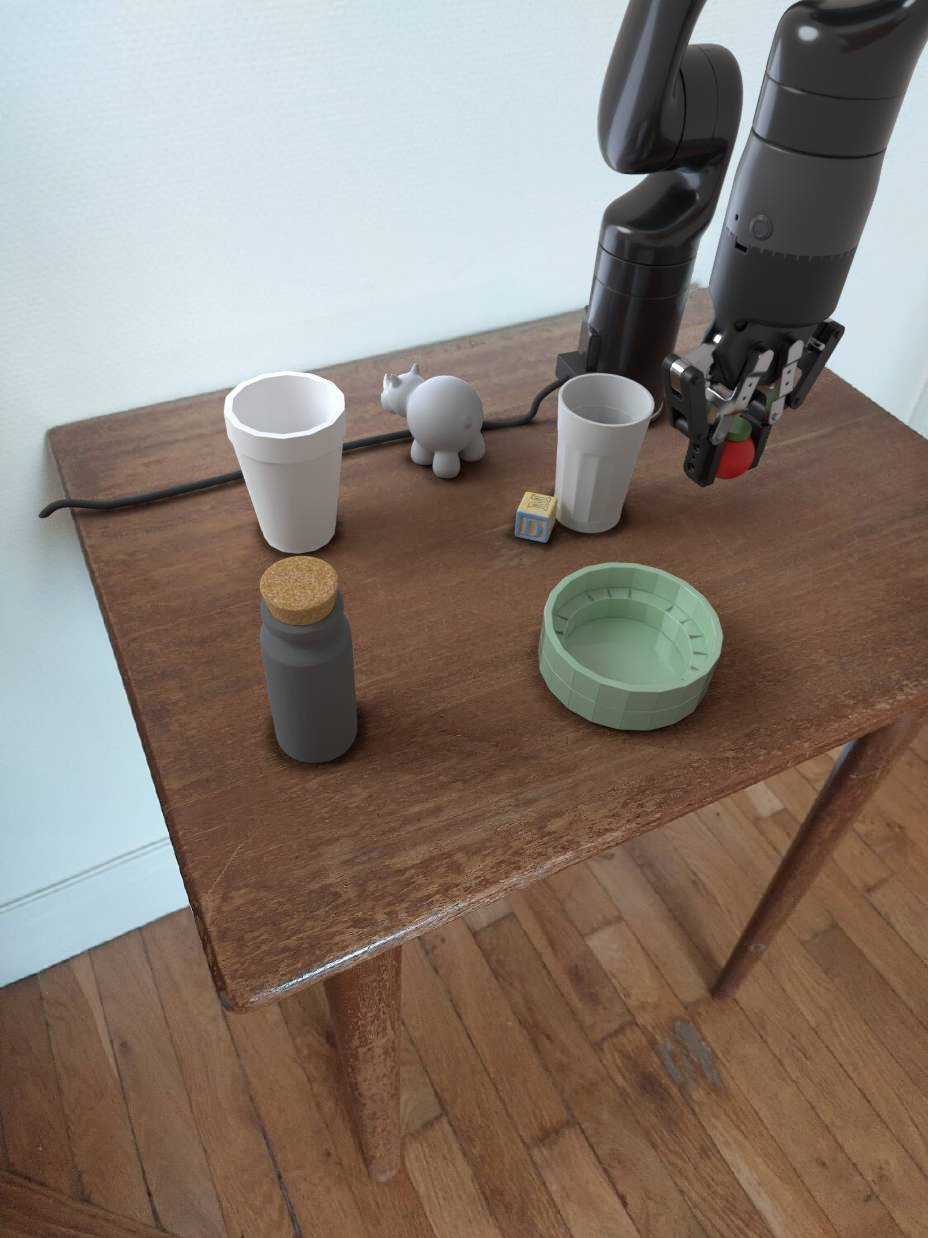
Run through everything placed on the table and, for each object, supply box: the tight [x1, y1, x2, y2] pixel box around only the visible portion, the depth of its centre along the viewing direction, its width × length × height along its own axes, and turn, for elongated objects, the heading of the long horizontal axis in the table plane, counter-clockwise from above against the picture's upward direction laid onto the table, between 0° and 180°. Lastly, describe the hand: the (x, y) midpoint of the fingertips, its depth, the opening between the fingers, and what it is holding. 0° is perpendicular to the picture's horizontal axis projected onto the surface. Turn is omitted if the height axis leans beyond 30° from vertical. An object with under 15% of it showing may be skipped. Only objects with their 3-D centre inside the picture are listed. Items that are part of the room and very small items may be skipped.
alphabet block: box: [514, 491, 558, 544], centre depth 81 cm, size 3×3×3 cm
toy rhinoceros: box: [380, 362, 486, 479], centre depth 87 cm, size 7×12×8 cm, turn 45°
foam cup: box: [223, 370, 347, 555], centre depth 76 cm, size 10×9×13 cm
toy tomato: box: [715, 415, 755, 480], centre depth 62 cm, size 4×4×4 cm
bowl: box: [537, 561, 724, 731], centre depth 69 cm, size 13×13×5 cm
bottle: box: [259, 555, 358, 764], centre depth 60 cm, size 6×6×15 cm
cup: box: [553, 373, 654, 534], centre depth 80 cm, size 8×8×12 cm
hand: (719, 470), depth 63 cm, fingers closed on toy tomato, 3 cm apart
